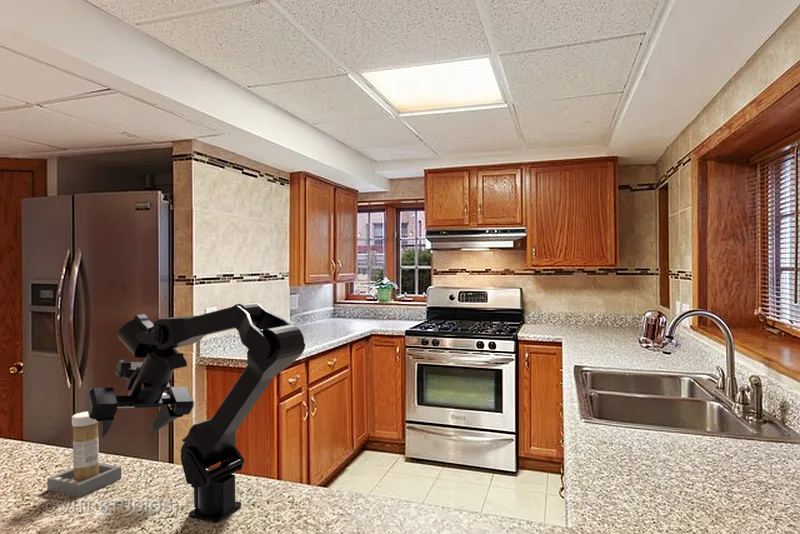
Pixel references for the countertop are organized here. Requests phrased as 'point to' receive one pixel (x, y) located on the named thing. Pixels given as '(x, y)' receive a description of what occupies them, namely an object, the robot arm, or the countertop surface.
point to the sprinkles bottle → (85, 447)
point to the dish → (71, 487)
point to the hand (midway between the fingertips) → (127, 433)
